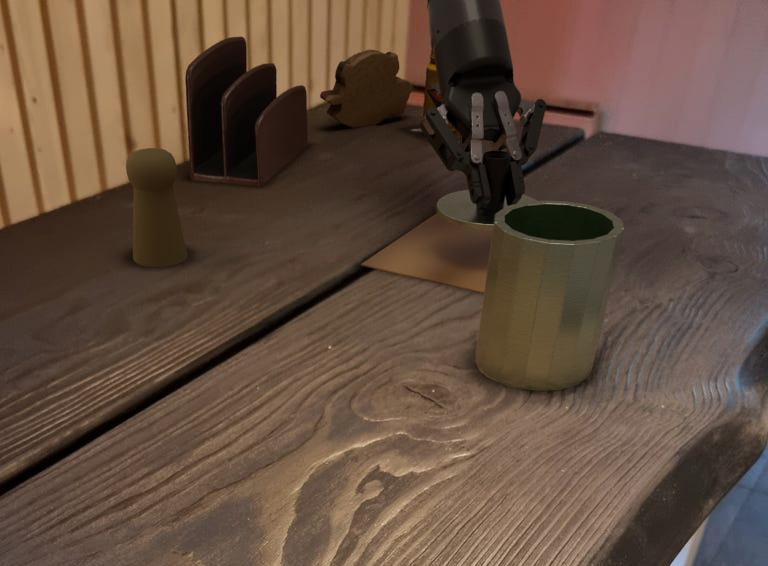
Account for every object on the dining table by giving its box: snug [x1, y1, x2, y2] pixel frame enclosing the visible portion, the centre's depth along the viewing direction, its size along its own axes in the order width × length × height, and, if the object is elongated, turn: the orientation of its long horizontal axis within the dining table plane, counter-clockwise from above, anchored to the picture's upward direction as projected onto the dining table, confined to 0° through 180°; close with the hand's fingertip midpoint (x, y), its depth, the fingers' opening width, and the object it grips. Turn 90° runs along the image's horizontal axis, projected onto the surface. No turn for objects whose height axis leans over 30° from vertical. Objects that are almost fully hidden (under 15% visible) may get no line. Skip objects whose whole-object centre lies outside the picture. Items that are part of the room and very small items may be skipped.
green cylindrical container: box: [474, 200, 625, 392], centre depth 78 cm, size 10×10×12 cm
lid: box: [436, 150, 538, 231], centre depth 96 cm, size 11×11×6 cm
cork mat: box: [360, 212, 493, 294], centre depth 101 cm, size 20×20×1 cm
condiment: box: [411, 49, 460, 139], centre depth 132 cm, size 7×8×12 cm
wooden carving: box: [319, 49, 414, 129], centre depth 137 cm, size 16×5×10 cm, turn 130°
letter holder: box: [184, 36, 309, 188], centre depth 122 cm, size 10×20×14 cm, turn 161°
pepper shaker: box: [125, 147, 188, 268], centre depth 97 cm, size 6×6×11 cm
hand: (499, 202), depth 95 cm, fingers closed on lid, 3 cm apart
